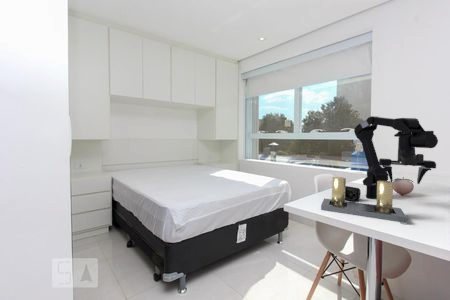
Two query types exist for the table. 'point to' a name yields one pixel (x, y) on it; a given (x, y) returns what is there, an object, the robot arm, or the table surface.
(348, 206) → the plate
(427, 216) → the table surface
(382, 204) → the brass billet
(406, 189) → the decorative fruit
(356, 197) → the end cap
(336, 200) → the cylinder
